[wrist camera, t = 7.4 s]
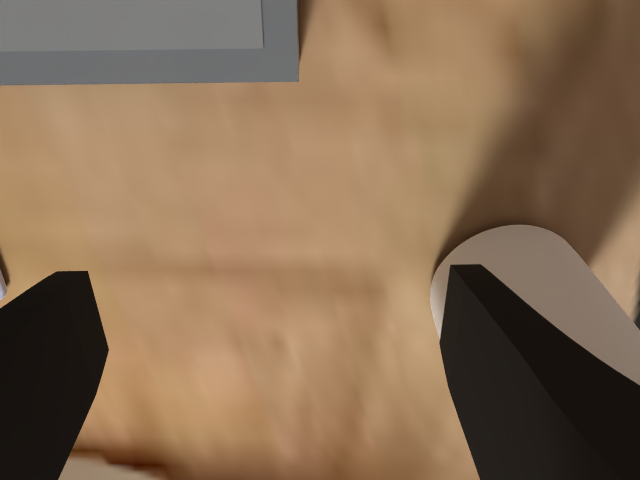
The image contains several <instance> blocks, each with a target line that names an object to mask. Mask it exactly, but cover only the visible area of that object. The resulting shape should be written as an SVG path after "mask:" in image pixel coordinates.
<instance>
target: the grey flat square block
mask: <svg viewBox="0 0 640 480" xmlns="http://www.w3.org/2000/svg"><path fill="white" fill-rule="evenodd" d="M299 65H300V57H299V18H298V0H0V85H68V84H146V83H225V82H299Z"/></svg>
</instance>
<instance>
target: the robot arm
mask: <svg viewBox="0 0 640 480" xmlns="http://www.w3.org/2000/svg"><path fill="white" fill-rule="evenodd" d="M6 293H7V287H6V284H5V281H4V278H3V276H2V273H1V270H0V300H1V299H3V297H4V296H5V295H6ZM440 349H441V354H442V359H443V364H444V369H445V374H446V378H447V383H448V387H449V390H450V393H451V397H452V400H453V402H454V405H455V408H456V411H457V414H458V417H459V420H460V423H461V426H462V429H463V432H464V434H465V437H466V440H467V443H468V446H469V449H470V452H471V455H472V457H473V460H474V463H475V466H476V469H477V472H478V475H479V477H480V480H640V385H639V384H637V383H636V382H634V381H632V380H631V379H629V378H628V377H626V376H624V375H623V374H621V373H620V372H618V371H616V370H615V369H613V368H612V367H610V366H609V365H607V364H606V363H604V362H603V361H601V360H600V359H599V358H597V357H596V356H594V355H593V354H592V353H590V352H589V351H588V350H586V349H585V348H583V347H582V346H581V345H579V344H578V343H577V342H575V341H574V340H572V339H571V338H570V337H568V336H567V335H566V334H565V333H563V332H562V331H561V330H559V329H558V328H557V327H555V326H554V325H553V324H552V323H550V322H549V321H548V320H547V319H545V318H544V317H543V316H542V315H541V314H539V313H538V312H537V311H536V310H534V309H533V308H532V307H531V306H530V305H528V304H527V303H526V302H525V301H524V300H523V299H521V298H520V297H519V296H518V295H517V294H516V293H514V292H513V291H512V290H511V289H510V288H509V287H507V286H506V285H505V284H504V283H503V282H502V281H500V280H499V279H498V278H497V277H496V276H495V275H493V274H492V273H491V272H490V271H489V270H488V269H486V268H485V267H484V266H482V265H481V264H457V265H450V270H449V277H448V284H447V292H446V299H445V306H444V314H443V321H442V328H441V336H440ZM108 351H109V349H108V345H107V341H106V337H105V334H104V330H103V326H102V322H101V319H100V315H99V311H98V308H97V304H96V300H95V296H94V293H93V289H92V285H91V282H90V278H89V274H88V271H57V272H55V273H53V274H52V275H50V276H48V277H46V278H45V279H43V280H42V281H40V282H39V283H37V284H36V285H34V286H33V287H31V288H30V289H28V290H27V291H25V292H24V293H22V294H21V295H19V296H18V297H16V298H15V299H13V300H12V301H11V302H9V303H8V304H6V305H5V306H3V307H2V308H0V480H58V478H59V476H60V474H61V472H62V470H63V467H64V465H65V463H66V461H67V459H68V457H69V454H70V452H71V450H72V448H73V446H74V443H75V441H76V439H77V437H78V434H79V432H80V430H81V428H82V426H83V423H84V421H85V419H86V416H87V414H88V412H89V410H90V407H91V405H92V403H93V400H94V398H95V396H96V393H97V390H98V386H99V383H100V380H101V376H102V373H103V369H104V366H105V362H106V358H107V355H108Z"/></svg>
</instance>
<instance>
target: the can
mask: <svg viewBox="0 0 640 480" xmlns="http://www.w3.org/2000/svg"><path fill="white" fill-rule="evenodd" d="M457 264H481V265H482V266H484V267H485V268H486V269H488V270H489V271H490V272H491V273H492V274H493V275H495V276H496V277H497V278H498V279H499V280H500V281H502V282H503V283H504V284H505V285H506V286H507V287H509V288H510V289H511V290H512V291H513V292H514V293H516V294H517V295H518V296H519V297H520V298H521V299H523V300H524V301H525V302H526V303H527V304H528V305H530V306H531V307H532V308H533V309H534V310H536V311H537V312H538V313H539V314H541V315H542V316H543V317H544V318H545V319H547V320H548V321H549V322H550V323H552V324H553V325H554V326H555V327H557V328H558V329H559V330H561V331H562V332H563V333H565V334H566V335H567V336H568V337H570V338H571V339H572V340H574V341H575V342H577V343H578V344H579V345H581V346H582V347H583V348H585V349H586V350H588V351H589V352H590V353H592V354H593V355H594V356H596V357H597V358H599V359H600V360H601V361H603V362H604V363H606V364H607V365H609V366H610V367H612V368H613V369H615V370H616V371H618V372H620V373H621V374H623V375H624V376H626V377H628V378H629V379H631V380H632V381H634V382H636V383H637V384H639V385H640V330H639V329H638V328H637V327H636V325H635V324H634V323H633V322H632V320H631V319H630V318H629V317H628V315H627V314H626V313H625V312H624V310H623V309H622V308H621V307H620V305H619V304H618V303H617V302H616V300H615V299H614V298H613V297H612V295H611V294H610V293H609V292H608V290H607V289H606V288H605V287H604V285H603V284H602V283H601V282H600V280H599V279H598V278H597V277H596V276H595V274H594V273H593V272H592V271H591V269H590V268H589V267H588V266H587V264H586V263H585V262H584V261H583V260H582V258H581V257H580V256H579V255H578V253H577V252H576V251H575V250H574V249H573V248H572V247H571V245H570V244H569V243H568V242H567V241H565V240H564V239H563V238H562V237H560V236H559V235H557V234H556V233H554V232H552V231H549V230H547V229H544V228H541V227H536V226H531V225H507V226H501V227H497V228H493V229H489V230H486V231H484V232H481V233H479V234H477V235H475V236H473V237H471V238H469V239H467V240H466V241H464V242H463V243H461V244H460V245H459V246H457V247H456V248H455V249H454V250H453V251H452V252H451V253H450V254H449V255H448V256H447V257H446V258H445V259H444V260H443V261H442V263H441V264H440V265H439V267H438V268H437V270H436V272H435V274H434V277H433V280H432V283H431V289H430V304H431V310H432V314H433V318H434V322H435V325H436V328H437V332H438V335H439V338H440V336H441V328H442V321H443V314H444V306H445V299H446V292H447V284H448V277H449V270H450V265H457Z"/></svg>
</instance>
